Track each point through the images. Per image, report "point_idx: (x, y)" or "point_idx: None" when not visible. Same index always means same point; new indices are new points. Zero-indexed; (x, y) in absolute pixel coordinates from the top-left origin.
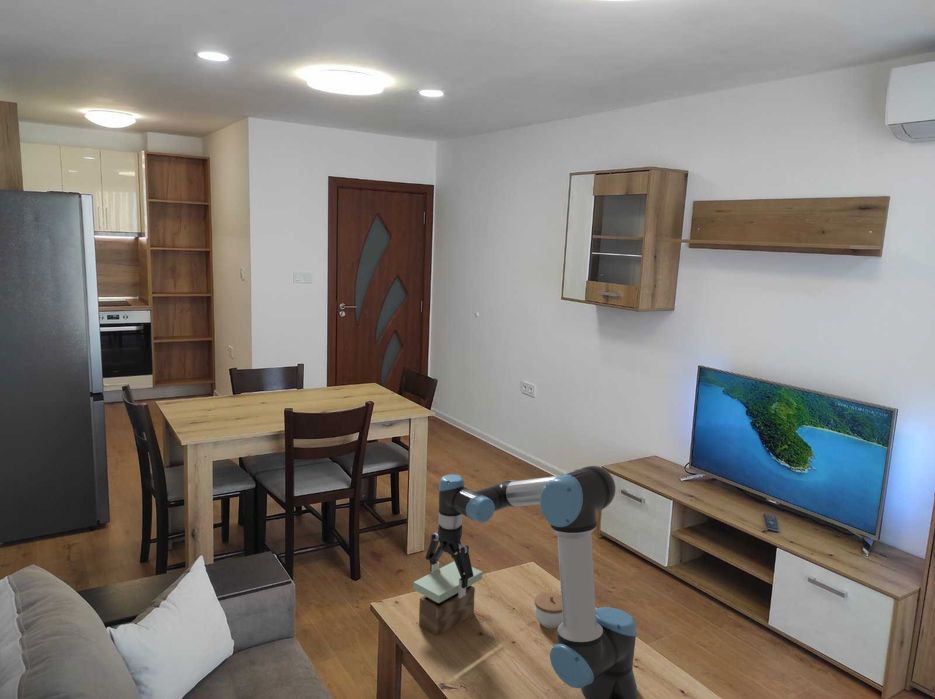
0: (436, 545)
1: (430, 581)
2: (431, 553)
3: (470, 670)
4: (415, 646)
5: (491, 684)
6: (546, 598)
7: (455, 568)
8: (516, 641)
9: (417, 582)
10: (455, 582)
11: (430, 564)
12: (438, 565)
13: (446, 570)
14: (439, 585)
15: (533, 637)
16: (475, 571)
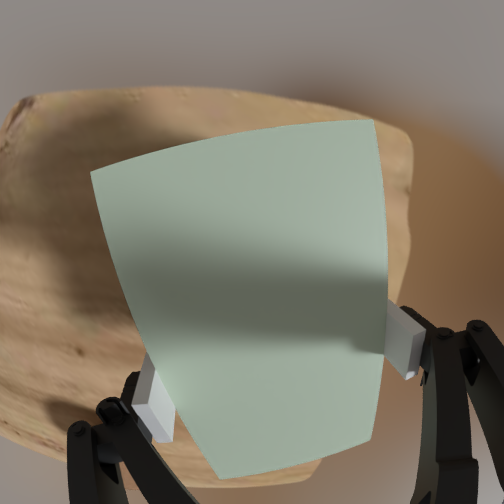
0: (493, 441)
1: (309, 230)
2: (481, 372)
3: (28, 192)
4: (189, 101)
5: None
6: (122, 475)
7: (324, 422)
8: (80, 357)
9: (353, 136)
10: (191, 369)
11: (433, 326)
12: (396, 364)
13: (343, 383)
14: (217, 258)
15: (84, 390)
16: (237, 468)
